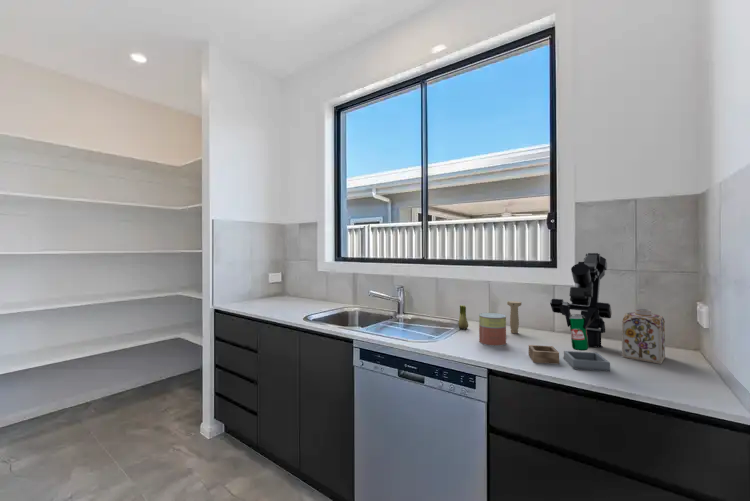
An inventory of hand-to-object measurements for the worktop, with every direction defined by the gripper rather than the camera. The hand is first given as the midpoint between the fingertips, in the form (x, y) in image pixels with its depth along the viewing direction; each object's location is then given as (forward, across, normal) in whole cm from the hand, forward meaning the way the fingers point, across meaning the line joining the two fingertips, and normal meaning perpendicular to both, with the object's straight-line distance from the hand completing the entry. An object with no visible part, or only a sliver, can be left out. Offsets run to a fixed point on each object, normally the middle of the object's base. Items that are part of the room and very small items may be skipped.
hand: (576, 327), depth 120 cm
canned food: (+4, -34, +16) cm, 37 cm away
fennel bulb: (-7, -56, +27) cm, 62 cm away
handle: (-13, -33, +32) cm, 48 cm away
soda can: (+5, +1, +6) cm, 8 cm away
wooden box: (+11, -10, +8) cm, 17 cm away
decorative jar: (-8, +17, +28) cm, 33 cm away
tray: (+8, +2, +10) cm, 14 cm away
